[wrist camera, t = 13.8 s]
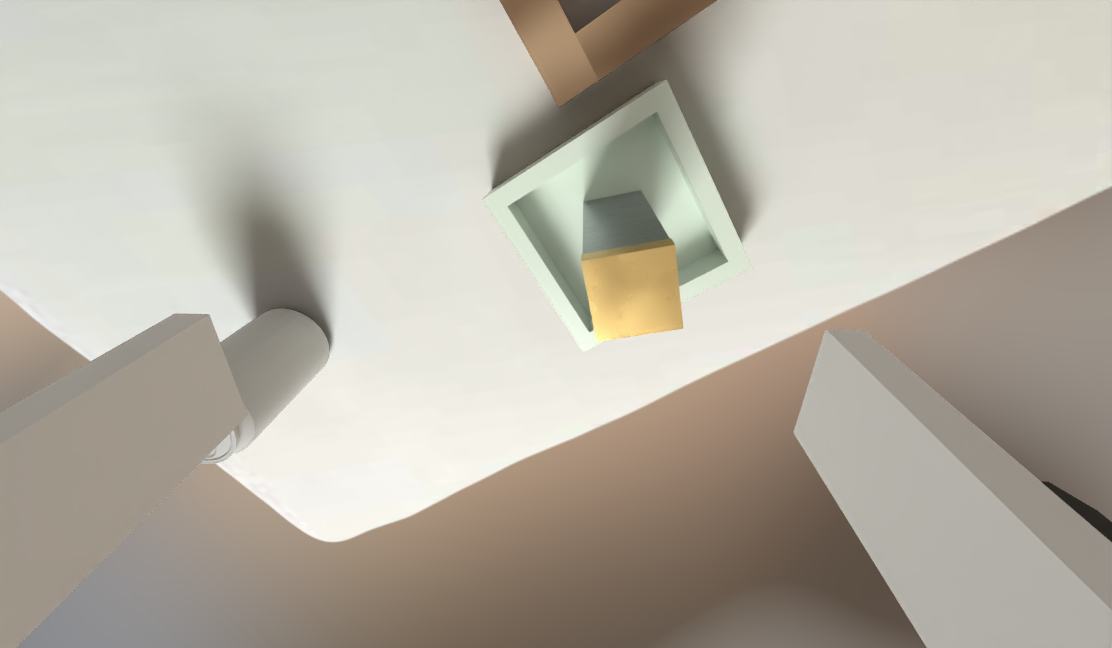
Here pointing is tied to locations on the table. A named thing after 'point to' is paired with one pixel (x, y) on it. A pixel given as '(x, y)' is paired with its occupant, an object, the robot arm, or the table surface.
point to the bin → (611, 169)
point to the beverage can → (269, 370)
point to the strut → (629, 268)
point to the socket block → (592, 38)
